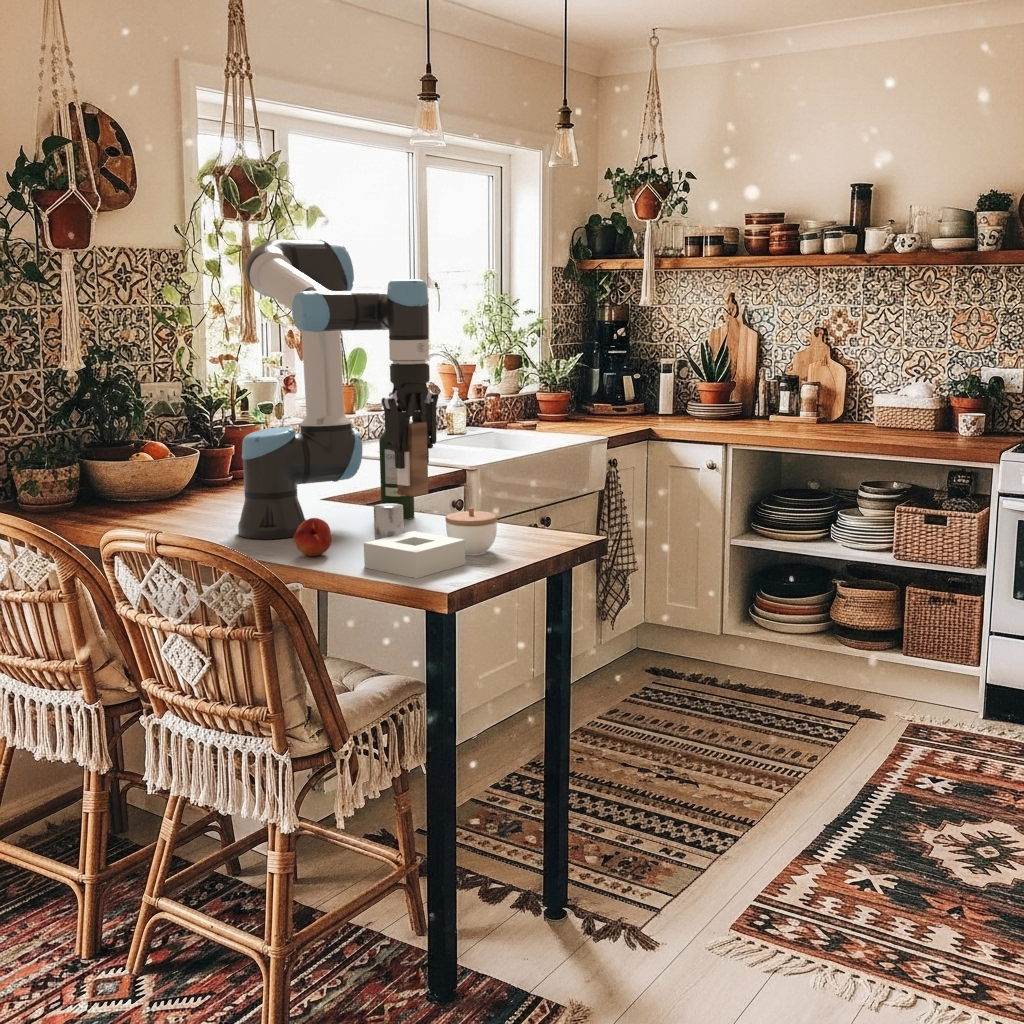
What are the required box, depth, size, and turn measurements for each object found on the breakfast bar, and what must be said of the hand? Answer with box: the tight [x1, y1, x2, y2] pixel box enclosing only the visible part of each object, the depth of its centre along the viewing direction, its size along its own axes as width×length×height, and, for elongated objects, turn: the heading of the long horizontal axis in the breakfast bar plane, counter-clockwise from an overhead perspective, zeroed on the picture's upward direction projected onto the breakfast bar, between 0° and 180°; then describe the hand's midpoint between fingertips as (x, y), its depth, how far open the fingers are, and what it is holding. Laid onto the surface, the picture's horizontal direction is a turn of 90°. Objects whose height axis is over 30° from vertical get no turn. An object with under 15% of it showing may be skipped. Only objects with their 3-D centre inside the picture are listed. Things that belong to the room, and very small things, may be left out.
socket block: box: [363, 530, 466, 579], centre depth 223 cm, size 14×14×5 cm
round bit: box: [373, 503, 405, 540], centre depth 234 cm, size 6×6×10 cm
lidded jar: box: [445, 507, 498, 557], centre depth 235 cm, size 11×11×9 cm
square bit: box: [398, 420, 429, 498], centre depth 220 cm, size 4×4×14 cm
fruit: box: [292, 517, 333, 557], centre depth 233 cm, size 8×8×8 cm
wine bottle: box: [378, 391, 415, 521], centre depth 270 cm, size 8×8×30 cm
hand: (412, 483), depth 221 cm, fingers closed on square bit, 4 cm apart
